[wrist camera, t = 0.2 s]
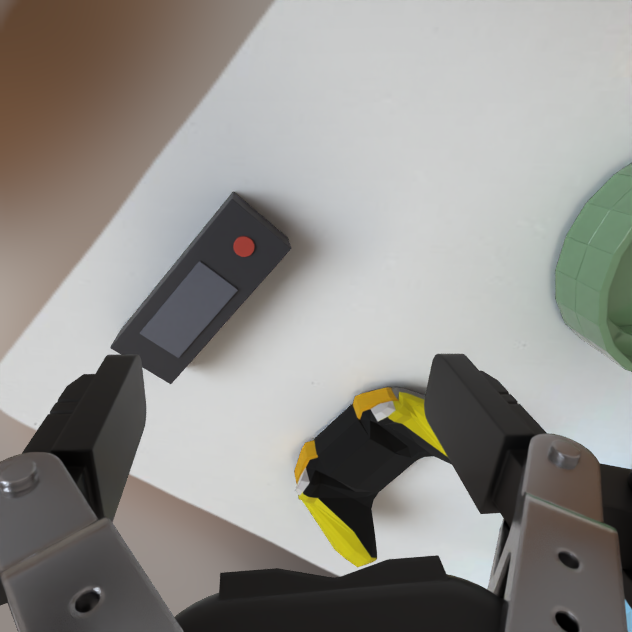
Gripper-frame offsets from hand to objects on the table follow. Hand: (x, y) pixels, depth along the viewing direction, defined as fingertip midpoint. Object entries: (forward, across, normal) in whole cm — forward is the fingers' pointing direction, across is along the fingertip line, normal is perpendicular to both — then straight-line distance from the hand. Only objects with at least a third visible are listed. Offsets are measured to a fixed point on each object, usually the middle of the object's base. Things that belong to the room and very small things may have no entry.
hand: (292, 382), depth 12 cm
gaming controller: (+18, -9, +18) cm, 26 cm away
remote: (+17, +4, +4) cm, 18 cm away
